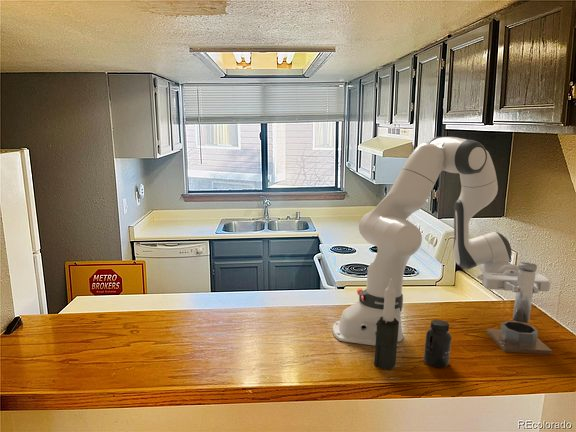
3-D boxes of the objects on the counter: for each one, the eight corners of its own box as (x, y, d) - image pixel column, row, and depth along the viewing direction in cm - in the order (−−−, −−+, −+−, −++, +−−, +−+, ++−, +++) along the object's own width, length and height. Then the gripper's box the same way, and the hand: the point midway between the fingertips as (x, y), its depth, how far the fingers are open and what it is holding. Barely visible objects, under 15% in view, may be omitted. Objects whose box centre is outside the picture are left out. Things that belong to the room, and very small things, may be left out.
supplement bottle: (450, 369, 125) (454, 329, 123) (424, 366, 126) (428, 326, 124) (446, 358, 131) (450, 319, 129) (422, 355, 133) (426, 316, 130)
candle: (396, 363, 127) (403, 278, 123) (390, 371, 123) (397, 283, 118) (379, 358, 130) (385, 274, 125) (372, 365, 125) (379, 279, 121)
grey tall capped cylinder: (516, 322, 140) (523, 266, 137) (509, 316, 145) (515, 262, 141) (532, 323, 139) (540, 267, 136) (525, 317, 144) (532, 262, 141)
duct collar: (504, 351, 137) (506, 335, 136) (486, 332, 150) (488, 317, 150) (551, 354, 136) (554, 338, 135) (529, 334, 150) (531, 319, 149)
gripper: (476, 266, 153) (493, 279, 139) (538, 268, 152) (560, 281, 138) (474, 284, 154) (490, 298, 140) (535, 286, 153) (558, 301, 140)
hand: (526, 290), depth 139 cm, fingers closed on grey tall capped cylinder, 5 cm apart
